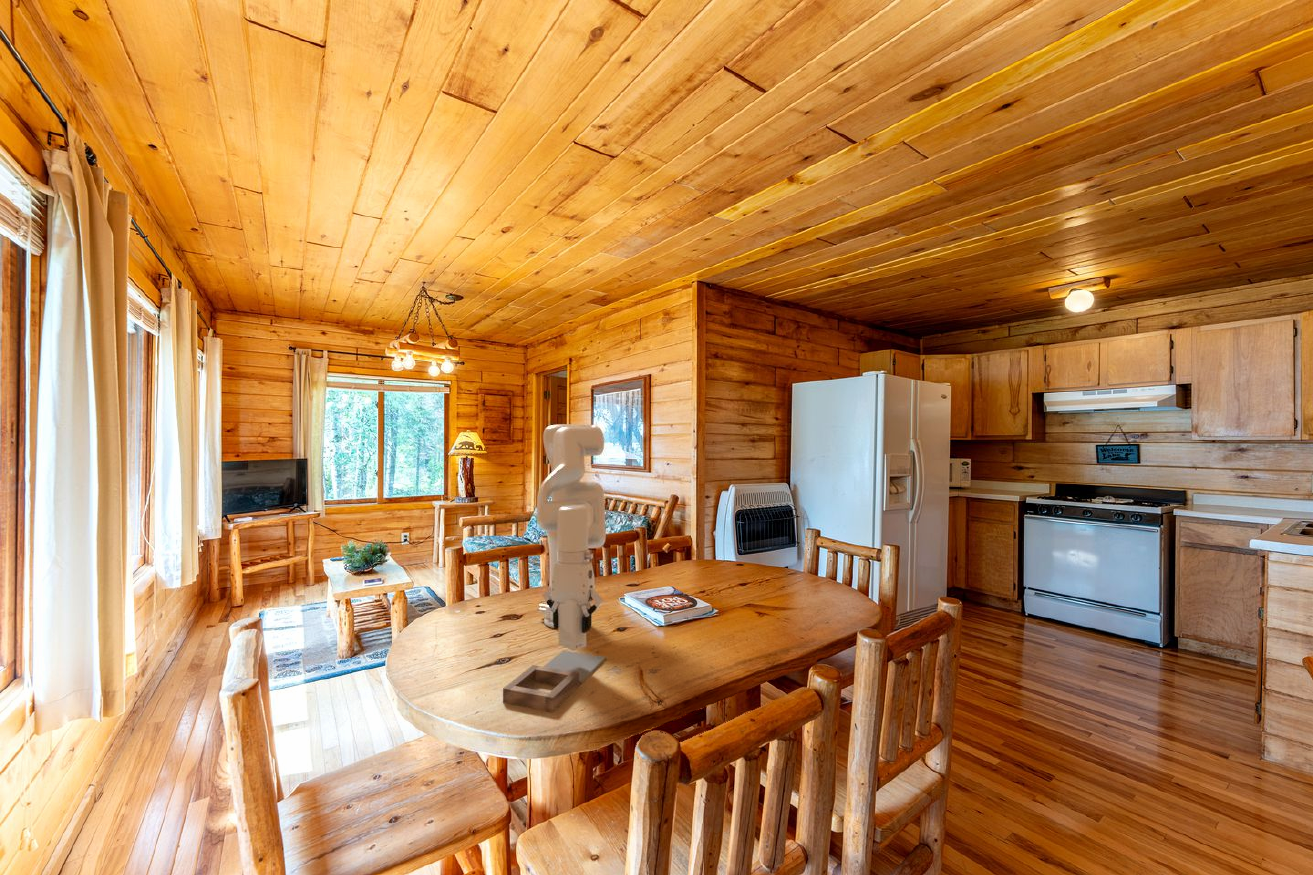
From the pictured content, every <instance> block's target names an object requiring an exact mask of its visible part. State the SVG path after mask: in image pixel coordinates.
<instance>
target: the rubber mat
mask: <svg viewBox="0 0 1313 875" xmlns="http://www.w3.org/2000/svg"><path fill="white" fill-rule="evenodd" d="M606 659H607V658H606V656H603V655H595V654H588V653H582V652H576V651H572V650H563V649H562V651H561V652H559V653H558V654H557V655H555V656H554V657H553V658H552V659H551V660H549V661H548V662H547V663H546V664H544V666H542V667H547V668H553V669H559V670H565V671H570V672H576V673H579V685H582V684H583V683H584V682H585V681H586V680H587V679H588V678H589V677H590V676H591V674H593V672H595V670H596V669H598V668H599V666H601V665H602V664H603V663H604V662H605V660H606Z"/></svg>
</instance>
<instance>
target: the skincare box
mask: <svg viewBox="0 0 1313 875" xmlns="http://www.w3.org/2000/svg"><path fill="white" fill-rule="evenodd" d="M583 616H584V613H583V611H582V608H581V606H580V605H577V603H576V600H568V599H566V602H565V603H559V605H558V628H557V629H558V633H557V634H558V646H562V647H564V648H566V649H569V650H570V651H573V652H576V651H579V650H581V649H584V648H586V647H587V632H586V633H583V632H582V617H583Z"/></svg>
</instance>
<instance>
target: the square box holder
mask: <svg viewBox="0 0 1313 875" xmlns="http://www.w3.org/2000/svg"><path fill="white" fill-rule="evenodd" d="M535 683H538V684H543V685H544V684H545V685H549V686H554V688H553V689H552V690H550V692H549V691H543V690H538V689H533V688H530V687H532V686H533V685H535ZM579 687H580V684H579V673H576V672H570V671H565V670H559V669H553V668H547V667H543V666H541V665H535V664H532V665H531V666H530V667H528V668H527V669H526V670H524V671H523V672H522V673H521V674H519V675H518V676H517V677H516V678H514V679H513V680H512V681H511V682H509V683H508V684H507V685H505V686H504V687H503V688H502V703H505V704H511V705H515V706H519V707H524V708H530V709H535V710H539V711H545V712H549V713H554V712H555V711H556V710H557V709H558V708H559V707H560V706H561V705H562V704H563V703H564V702H565V701H566V700H567V699H568V698H569V697H570V696H571V695H572V694H573V693H574V692H575V691H576V690H577V689H578V688H579ZM560 704H561V705H560ZM558 706H559V707H558Z"/></svg>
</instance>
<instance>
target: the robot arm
mask: <svg viewBox="0 0 1313 875" xmlns="http://www.w3.org/2000/svg"><path fill="white" fill-rule="evenodd" d="M542 436H543V438H542V440H543V446H544V451H545V454H546V457H547V459H548V462H549V465H550V469H551V472H550V473H549V474H548V475H547V477H546V478H545V479H544V480H543V481H542V482H541V485H540V487H539V489H538V491H537V498H536V521H537V525H538V527H539V528H540V529H541V530H542V531H545V532H546V536H547V544H548V552H549V588H548V589H546V590H545V591H544V592H543V593H542V594H541V596H542V598H543V600H544V601H545V602H546V604H545V603H544V604H543V603H540V604H539V606H538V613H539V614H545V616H544V618H543V623H544V625H545V626H547V627H549V628H552V629H553V630H557V629H558V605H559V603H565V602H566V599H568V600H576V603H577V605H580V606H581V608H582V611H583V613H584V616H583V617H582V632H583V633H586V634H587V632H588V631H589V630H591V628H592V614H593V613H594V612H596V610H598V608H599V607H600V606H601V605H602V604H603V602H604V599H603V598H602V597H601V595H599V593H598V592H596V587H595V574H594V568H593V564H592V561H589V560H593V558H594V554H593V553H590V550H589V549H598V548H601V547H603V546H604V544H605V542H606V537H607V533H606V531H607V530H606V505H605V493H604V489H603V486H602V485H601V484H600V483H598V482H595V481H581V479H583V477H584V475H585V473H586V467H585V465H586V464H585V456H586V457H587V456H589V457H590V456H595V457H597V456H600V455H602V454H603V451H604V449H605V448H604V447H605V438H604V433H603V430H602V429H601V428H600V427H599V426H598V425H596V424H570V423H569V424H568V423H567V424H566V423H565V424H563V423H561V424H553V425H549V426H547V427H545V429H544V431H543V435H542ZM550 496H551V500H550V501H549V498H550ZM592 601H594V603H593V604H592V603H591V602H592Z"/></svg>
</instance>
